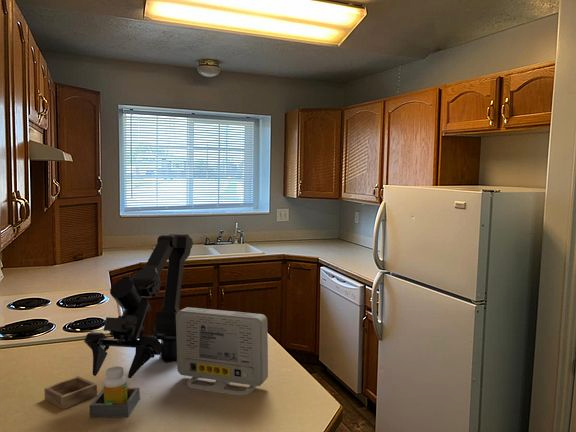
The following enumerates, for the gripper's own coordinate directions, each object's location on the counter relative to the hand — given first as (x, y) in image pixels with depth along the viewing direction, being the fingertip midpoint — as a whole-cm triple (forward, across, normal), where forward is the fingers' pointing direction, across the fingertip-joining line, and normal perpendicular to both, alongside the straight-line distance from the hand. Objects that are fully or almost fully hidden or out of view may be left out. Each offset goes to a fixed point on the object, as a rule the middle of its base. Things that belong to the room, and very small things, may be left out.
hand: (111, 376), depth 113 cm
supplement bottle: (+5, 0, +7) cm, 9 cm away
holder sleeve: (+3, -14, +9) cm, 17 cm away
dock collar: (+5, 0, +7) cm, 9 cm away
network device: (-7, +22, +19) cm, 30 cm away
